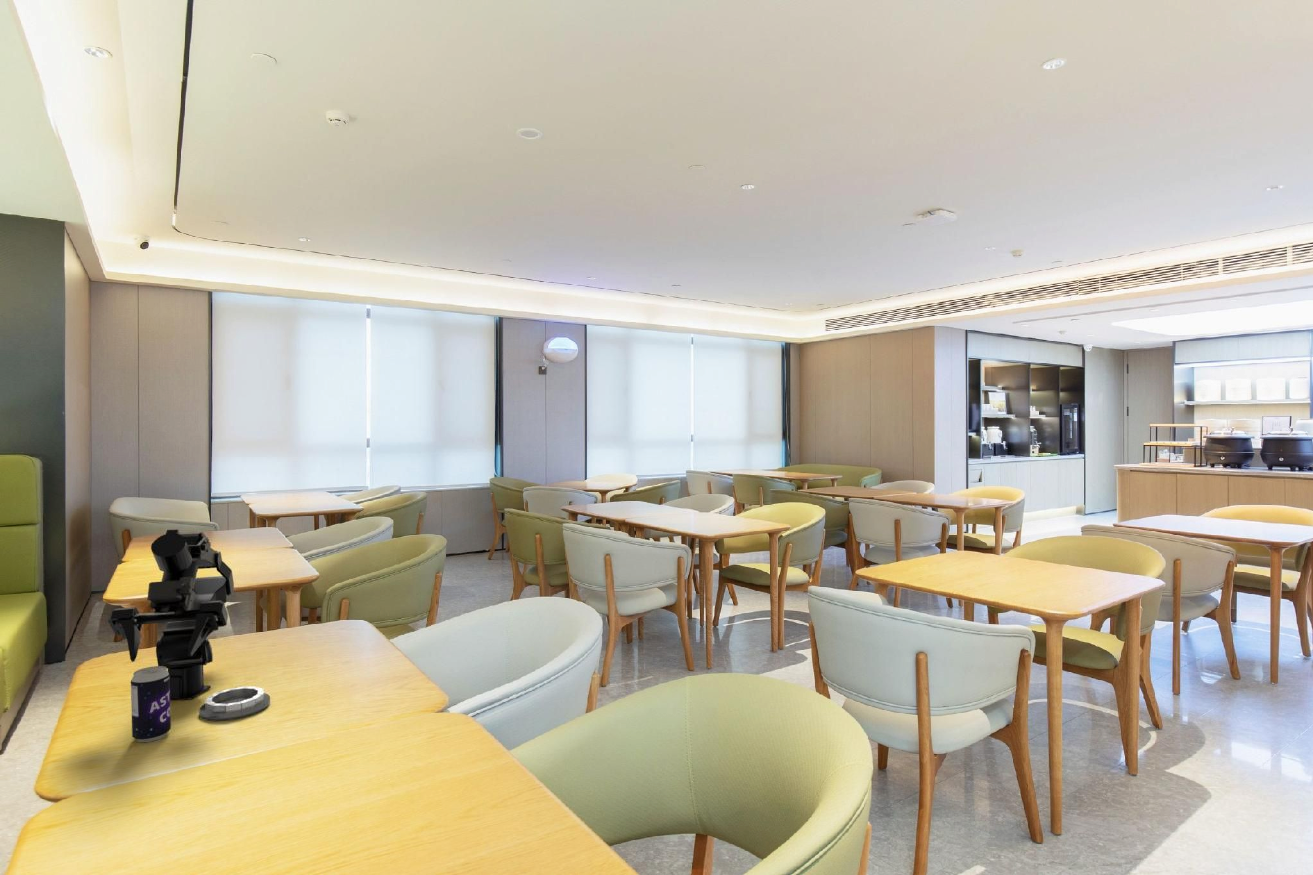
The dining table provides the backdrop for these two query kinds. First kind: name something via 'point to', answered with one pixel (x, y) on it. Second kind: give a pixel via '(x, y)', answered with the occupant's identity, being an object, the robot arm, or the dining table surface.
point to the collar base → (236, 714)
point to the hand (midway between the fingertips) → (161, 657)
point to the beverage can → (150, 703)
